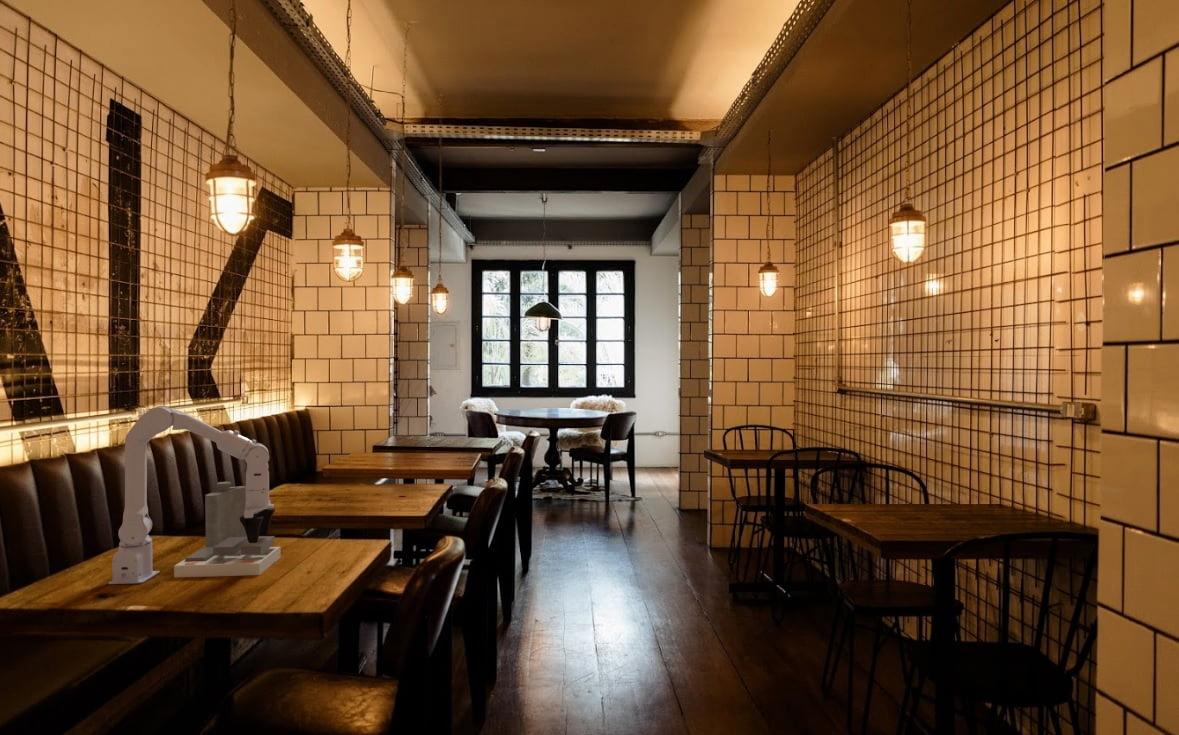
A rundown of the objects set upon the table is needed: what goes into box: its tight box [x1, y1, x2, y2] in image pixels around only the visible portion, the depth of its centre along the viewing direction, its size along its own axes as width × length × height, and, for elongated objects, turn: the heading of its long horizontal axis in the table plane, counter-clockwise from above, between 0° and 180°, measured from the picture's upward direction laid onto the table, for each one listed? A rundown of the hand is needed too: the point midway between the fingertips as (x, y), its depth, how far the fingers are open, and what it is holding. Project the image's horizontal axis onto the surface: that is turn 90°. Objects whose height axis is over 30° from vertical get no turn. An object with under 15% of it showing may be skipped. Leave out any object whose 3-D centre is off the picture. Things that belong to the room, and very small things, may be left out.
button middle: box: [213, 536, 248, 556], centre depth 201 cm, size 11×5×2 cm, turn 5°
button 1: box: [184, 546, 213, 562], centre depth 200 cm, size 11×5×2 cm, turn 5°
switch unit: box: [173, 546, 282, 578], centre depth 200 cm, size 17×21×3 cm
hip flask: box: [204, 481, 247, 547], centre depth 217 cm, size 16×4×20 cm, turn 170°
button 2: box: [241, 535, 275, 555], centre depth 202 cm, size 11×5×2 cm, turn 5°
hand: (258, 539), depth 202 cm, fingers open, 7 cm apart
